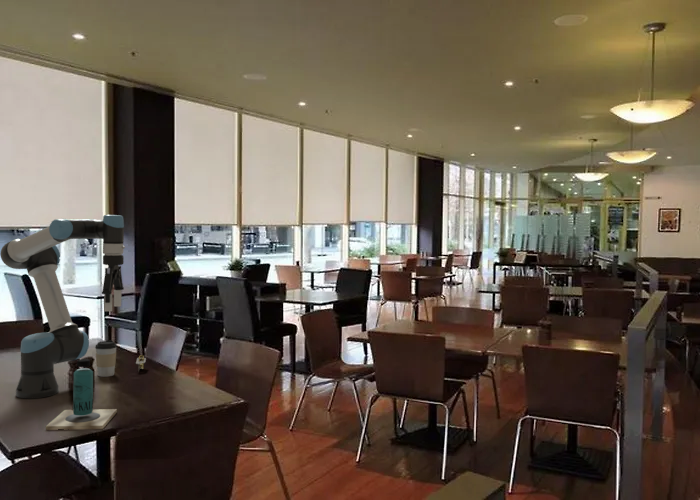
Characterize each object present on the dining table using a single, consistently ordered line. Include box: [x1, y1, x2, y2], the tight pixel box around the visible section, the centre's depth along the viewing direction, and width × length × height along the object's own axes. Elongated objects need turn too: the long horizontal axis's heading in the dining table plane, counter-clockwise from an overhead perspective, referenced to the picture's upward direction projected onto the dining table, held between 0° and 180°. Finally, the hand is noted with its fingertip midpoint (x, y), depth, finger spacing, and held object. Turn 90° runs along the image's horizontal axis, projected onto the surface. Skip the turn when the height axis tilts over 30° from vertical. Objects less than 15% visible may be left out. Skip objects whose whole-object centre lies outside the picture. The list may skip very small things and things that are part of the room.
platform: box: [135, 354, 147, 373], centre depth 286 cm, size 12×18×7 cm, turn 15°
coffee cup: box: [94, 339, 118, 378], centre depth 275 cm, size 9×9×15 cm
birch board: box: [45, 408, 118, 431], centre depth 212 cm, size 18×18×1 cm
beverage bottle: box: [72, 358, 94, 415], centre depth 212 cm, size 6×7×20 cm
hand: (113, 308), depth 241 cm, fingers open, 13 cm apart
